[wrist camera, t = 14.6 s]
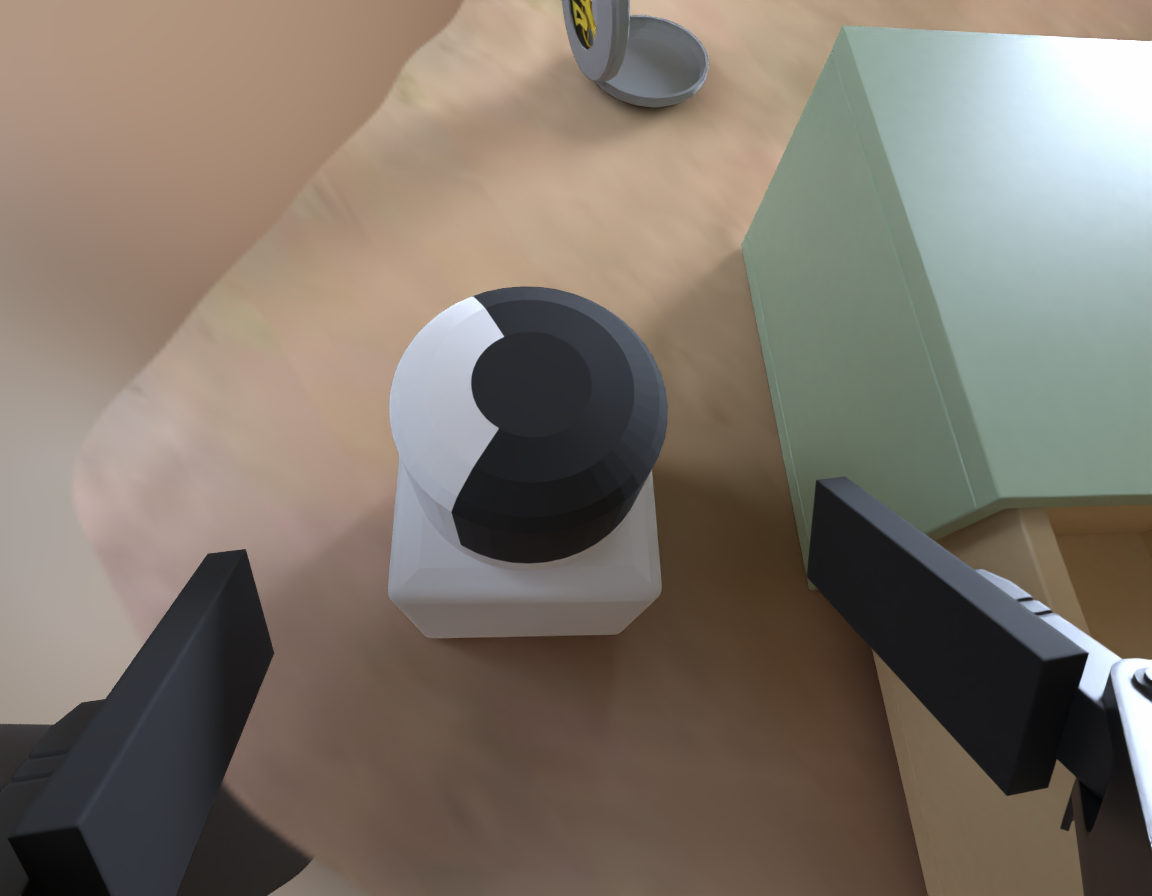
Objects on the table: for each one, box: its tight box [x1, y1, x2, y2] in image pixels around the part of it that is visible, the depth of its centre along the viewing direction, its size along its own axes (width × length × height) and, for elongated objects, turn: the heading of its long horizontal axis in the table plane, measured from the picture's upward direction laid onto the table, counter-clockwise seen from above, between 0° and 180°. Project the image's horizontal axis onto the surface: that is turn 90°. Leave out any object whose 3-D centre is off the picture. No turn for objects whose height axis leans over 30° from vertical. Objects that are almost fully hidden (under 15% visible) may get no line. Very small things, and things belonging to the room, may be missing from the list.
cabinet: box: [741, 26, 1152, 590], centre depth 24 cm, size 17×15×11 cm
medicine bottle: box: [388, 287, 668, 638], centre depth 19 cm, size 7×7×12 cm
